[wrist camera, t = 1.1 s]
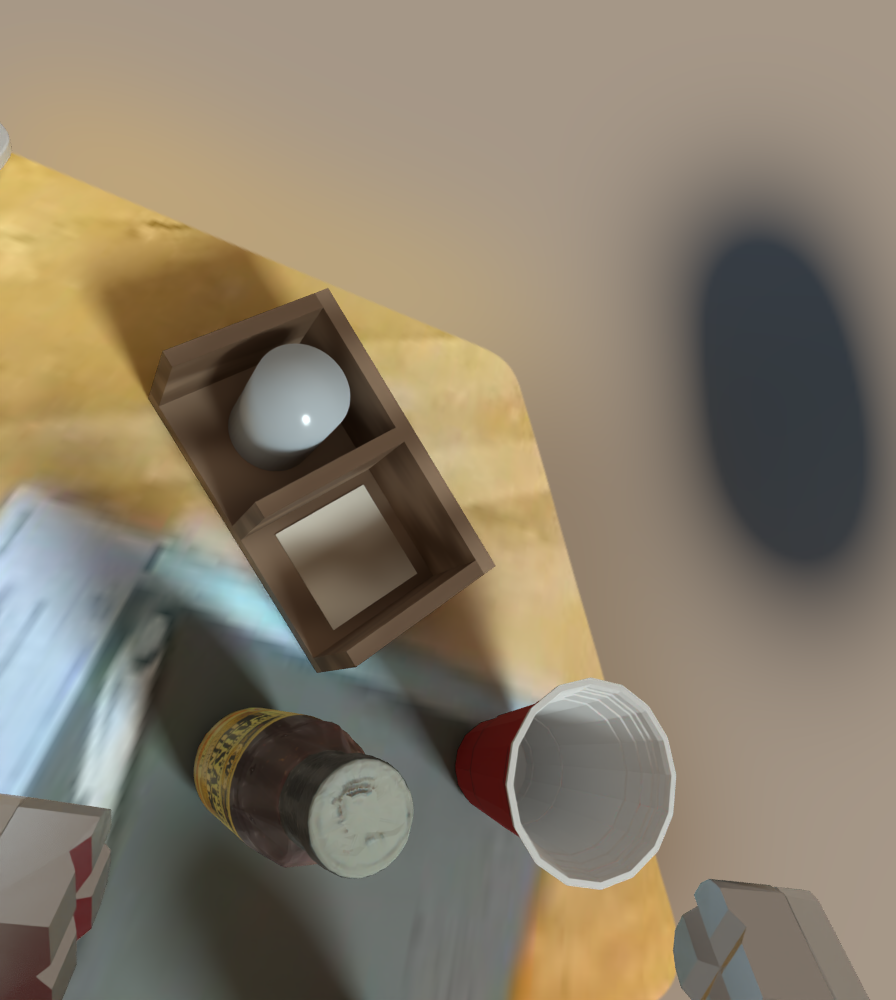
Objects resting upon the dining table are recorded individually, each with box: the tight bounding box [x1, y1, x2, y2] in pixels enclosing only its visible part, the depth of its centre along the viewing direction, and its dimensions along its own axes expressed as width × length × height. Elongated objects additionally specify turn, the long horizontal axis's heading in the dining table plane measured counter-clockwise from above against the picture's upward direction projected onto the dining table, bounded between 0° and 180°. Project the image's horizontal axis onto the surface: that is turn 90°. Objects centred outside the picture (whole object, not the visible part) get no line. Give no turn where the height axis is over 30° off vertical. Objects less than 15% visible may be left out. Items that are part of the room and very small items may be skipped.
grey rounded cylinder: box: [228, 344, 350, 471], centre depth 45 cm, size 6×6×7 cm
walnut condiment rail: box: [149, 288, 495, 673], centre depth 46 cm, size 20×11×7 cm, turn 35°
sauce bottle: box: [194, 708, 413, 879], centre depth 35 cm, size 7×6×20 cm
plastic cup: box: [455, 678, 676, 890], centre depth 45 cm, size 11×11×12 cm
